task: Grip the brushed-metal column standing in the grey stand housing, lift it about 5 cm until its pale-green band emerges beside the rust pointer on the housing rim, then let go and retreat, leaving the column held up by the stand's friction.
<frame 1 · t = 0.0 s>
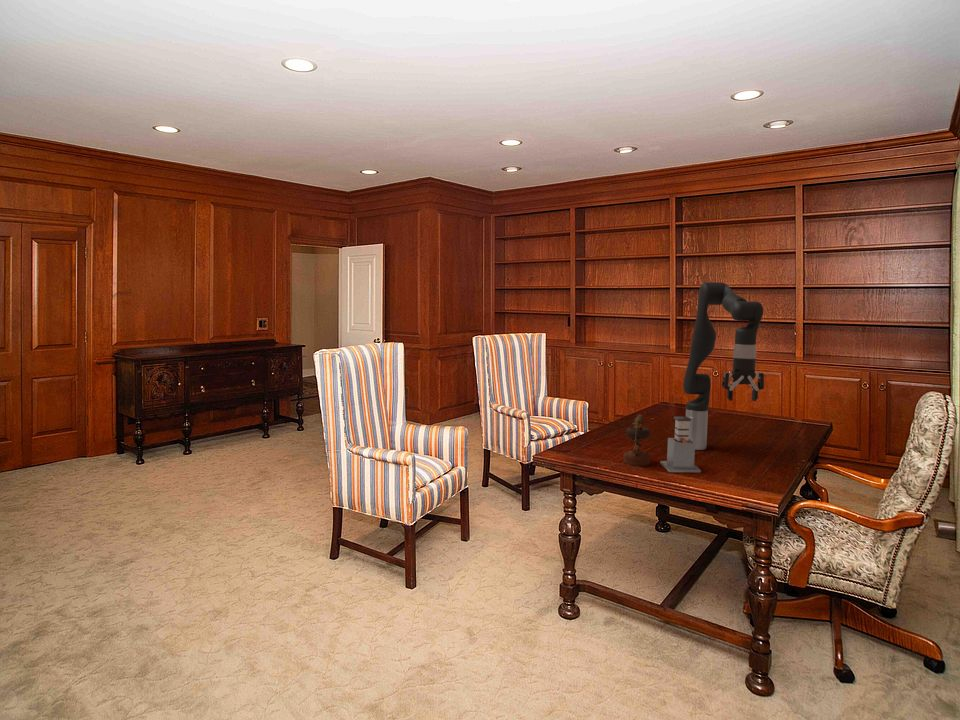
hand: (742, 400, 217), 29 cm above the table, fingers open, 8 cm apart
stand: (680, 467, 233), on the table
brown piece: (636, 462, 241), on the table
column: (681, 441, 232), point 11 cm above the table, slide at 0.0 cm
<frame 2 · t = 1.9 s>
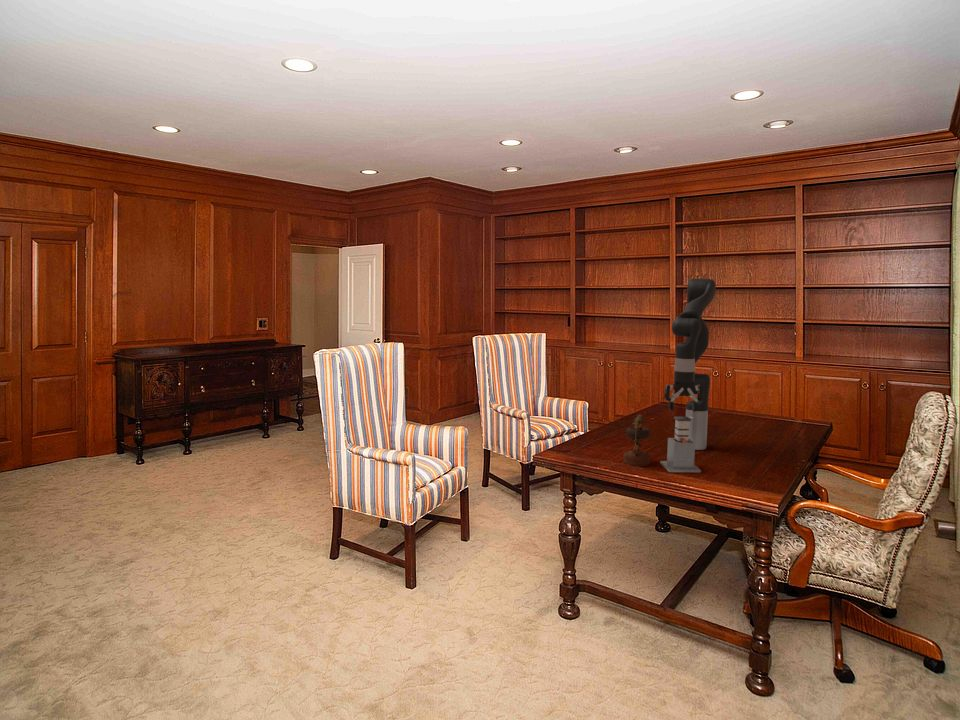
hand: (682, 411, 231), 23 cm above the table, fingers open, 8 cm apart
nothing on the table moved.
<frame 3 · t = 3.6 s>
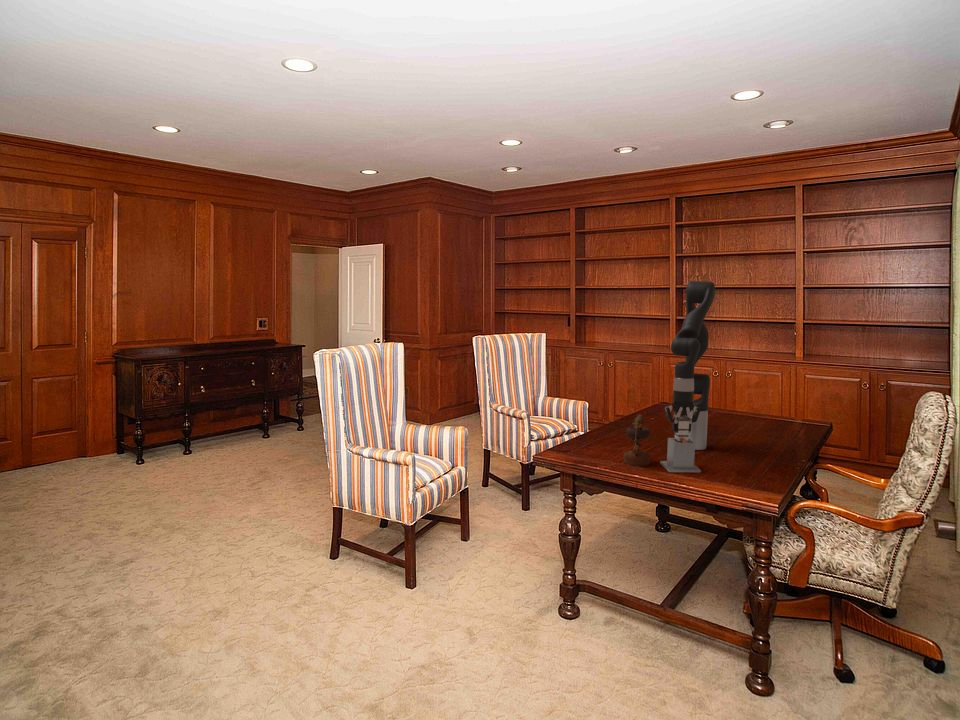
hand: (681, 432, 232), 14 cm above the table, fingers closed on column, 4 cm apart
column: (681, 441, 232), point 11 cm above the table, slide at 0.0 cm, touching gripper
everything else where it was.
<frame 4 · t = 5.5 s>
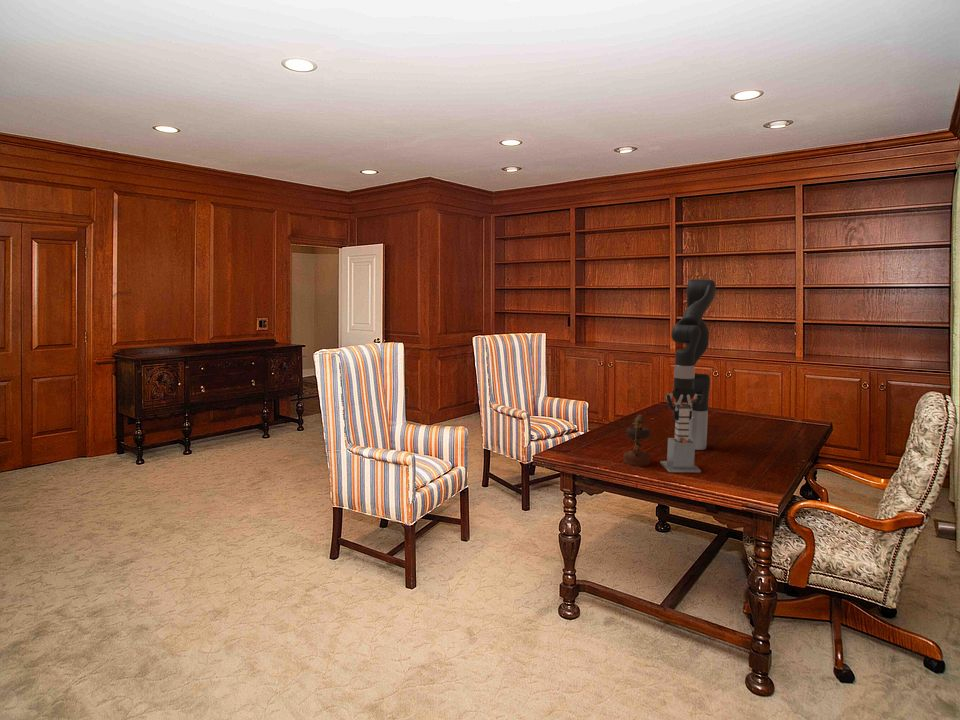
hand: (682, 419, 231), 19 cm above the table, fingers closed on column, 4 cm apart
column: (681, 429, 232), point 16 cm above the table, slide at 4.9 cm, touching gripper
everything else where it was.
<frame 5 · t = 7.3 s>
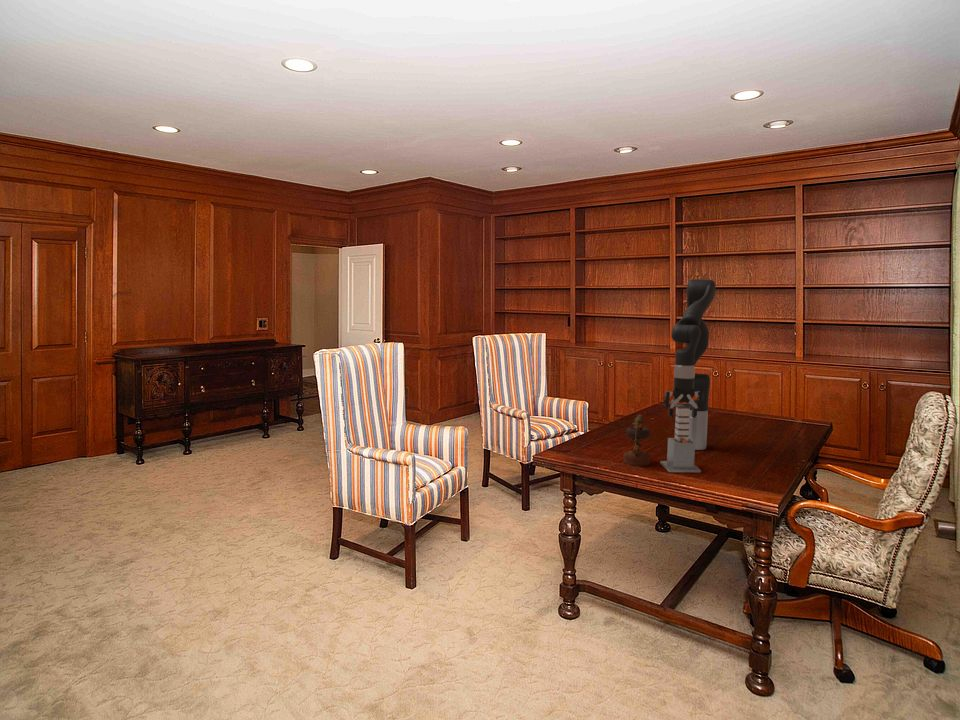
hand: (682, 417, 231), 20 cm above the table, fingers open, 8 cm apart
column: (681, 429, 232), point 16 cm above the table, slide at 5.0 cm
everything else where it was.
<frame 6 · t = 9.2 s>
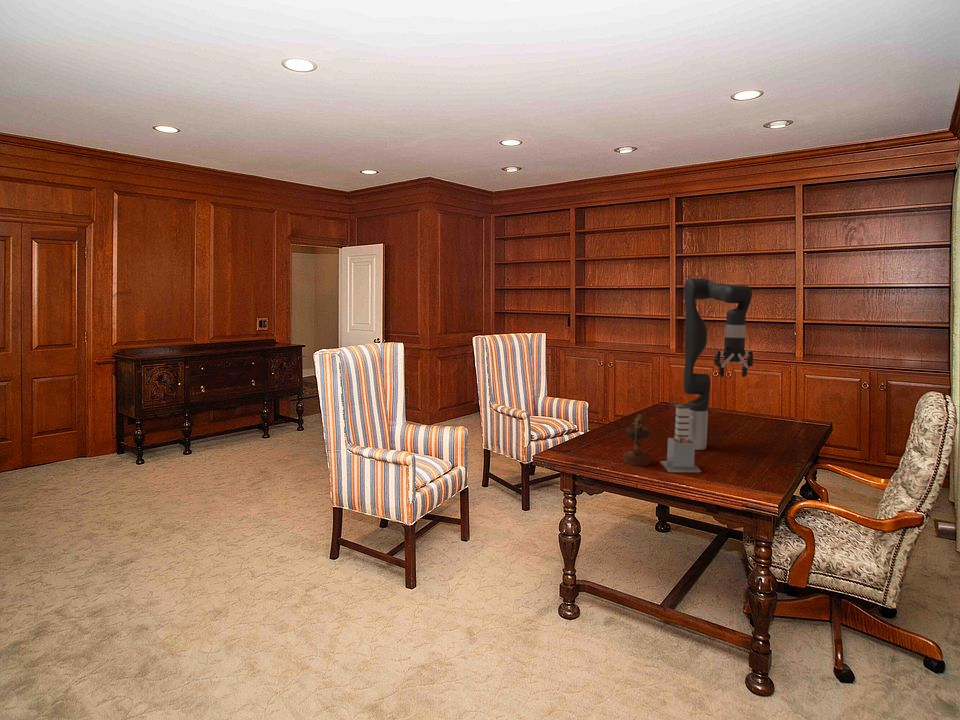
hand: (732, 376, 236), 35 cm above the table, fingers open, 8 cm apart
nothing on the table moved.
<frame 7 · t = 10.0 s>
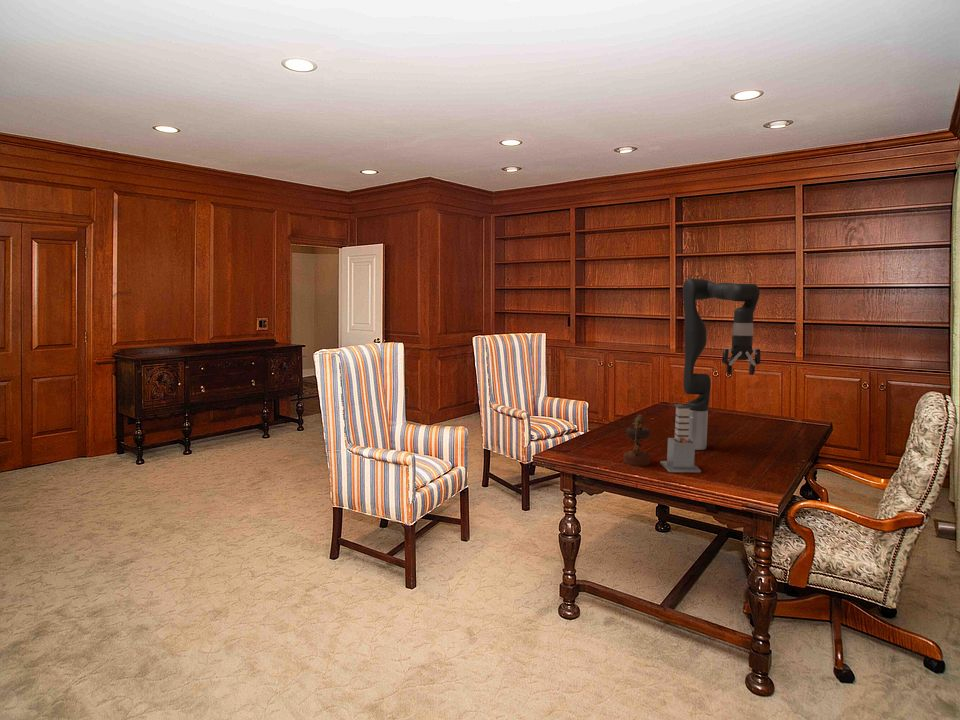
hand: (740, 374, 237), 36 cm above the table, fingers open, 8 cm apart
nothing on the table moved.
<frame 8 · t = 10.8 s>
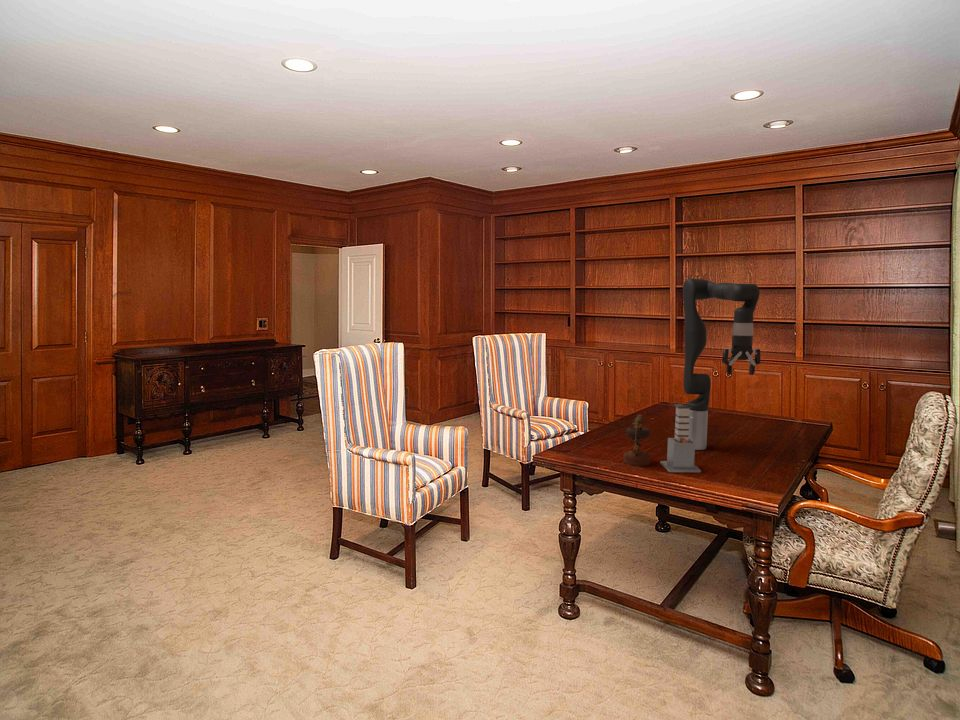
hand: (740, 374, 237), 36 cm above the table, fingers open, 8 cm apart
nothing on the table moved.
at the end: column slide at 5.0 cm; the gripper is holding nothing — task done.
